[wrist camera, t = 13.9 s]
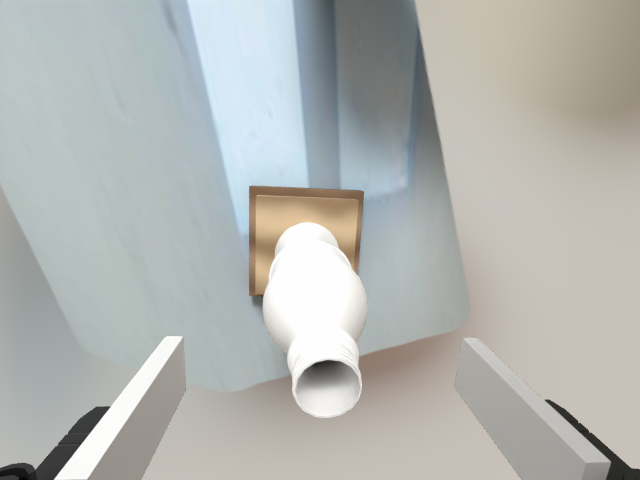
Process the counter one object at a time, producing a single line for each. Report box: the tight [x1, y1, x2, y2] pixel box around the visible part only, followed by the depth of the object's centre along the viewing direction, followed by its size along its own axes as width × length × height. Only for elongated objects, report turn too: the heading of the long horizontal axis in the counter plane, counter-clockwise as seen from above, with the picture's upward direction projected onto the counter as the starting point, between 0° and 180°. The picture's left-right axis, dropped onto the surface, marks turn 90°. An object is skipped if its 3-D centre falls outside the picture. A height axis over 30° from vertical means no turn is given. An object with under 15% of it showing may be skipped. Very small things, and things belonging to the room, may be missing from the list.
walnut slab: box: [249, 186, 364, 296], centre depth 40 cm, size 14×14×2 cm
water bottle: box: [263, 222, 367, 418], centre depth 25 cm, size 7×7×25 cm
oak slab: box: [255, 195, 359, 295], centre depth 39 cm, size 12×12×2 cm
